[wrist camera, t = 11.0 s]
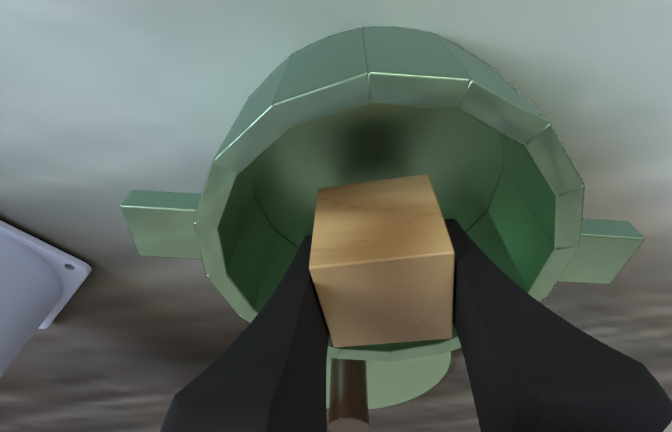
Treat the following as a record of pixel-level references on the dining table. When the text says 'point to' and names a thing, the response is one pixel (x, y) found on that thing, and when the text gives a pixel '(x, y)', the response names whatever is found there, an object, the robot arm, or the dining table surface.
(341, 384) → the lid
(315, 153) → the pot
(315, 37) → the dining table surface
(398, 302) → the cube
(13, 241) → the robot arm
